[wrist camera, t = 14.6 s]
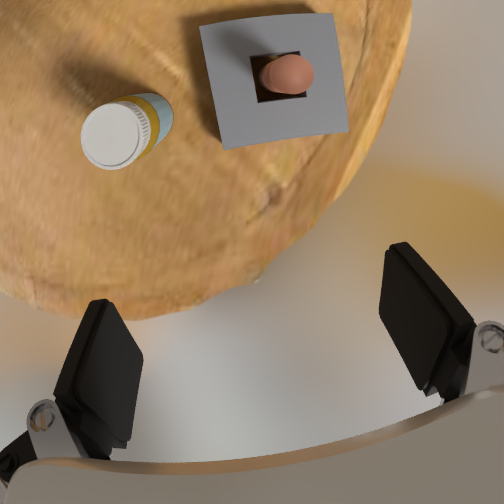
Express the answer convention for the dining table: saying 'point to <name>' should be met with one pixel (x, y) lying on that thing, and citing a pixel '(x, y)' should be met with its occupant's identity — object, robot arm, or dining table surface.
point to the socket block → (281, 109)
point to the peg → (286, 75)
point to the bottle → (125, 129)
